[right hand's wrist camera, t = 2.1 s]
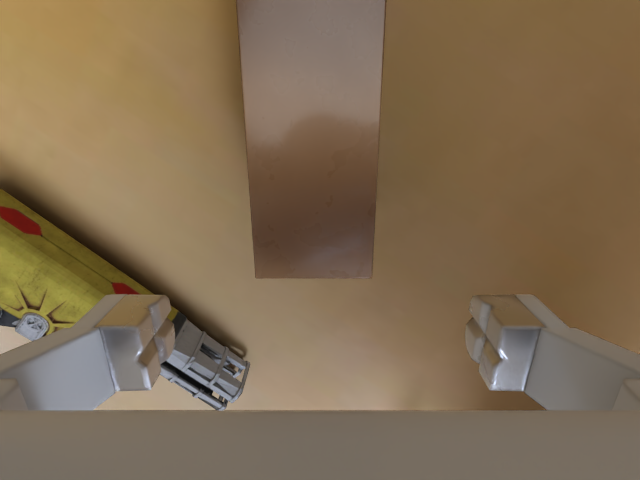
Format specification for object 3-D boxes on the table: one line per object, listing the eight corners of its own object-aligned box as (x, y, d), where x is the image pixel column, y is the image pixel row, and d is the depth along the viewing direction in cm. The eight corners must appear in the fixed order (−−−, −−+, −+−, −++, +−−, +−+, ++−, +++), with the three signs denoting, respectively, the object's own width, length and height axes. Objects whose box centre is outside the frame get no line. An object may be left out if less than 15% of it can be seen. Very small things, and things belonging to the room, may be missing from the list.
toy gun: (138, 482, 33) (242, 399, 28) (-159, 329, 26) (-93, 182, 21) (160, 433, 37) (254, 353, 32) (-91, 291, 30) (-21, 160, 25)
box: (356, 225, 28) (372, 278, 20) (275, 225, 28) (255, 278, 20) (372, -227, 19) (411, -478, 11) (253, -227, 19) (202, -476, 11)
